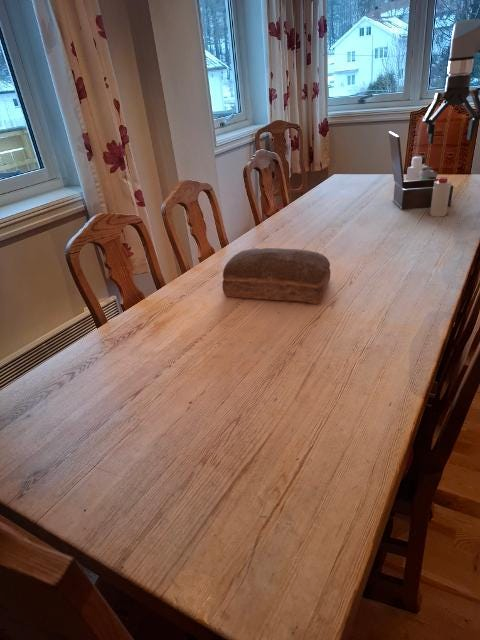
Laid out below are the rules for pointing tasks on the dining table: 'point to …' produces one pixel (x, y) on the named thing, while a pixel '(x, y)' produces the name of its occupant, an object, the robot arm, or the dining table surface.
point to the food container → (428, 173)
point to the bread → (277, 275)
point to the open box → (416, 194)
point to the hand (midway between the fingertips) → (449, 141)
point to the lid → (396, 159)
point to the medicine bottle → (415, 168)
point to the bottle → (440, 197)
